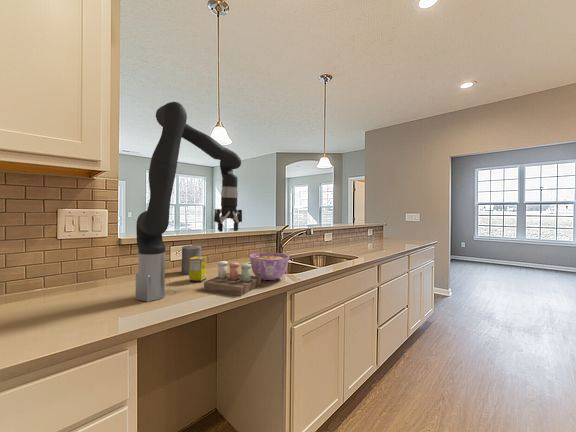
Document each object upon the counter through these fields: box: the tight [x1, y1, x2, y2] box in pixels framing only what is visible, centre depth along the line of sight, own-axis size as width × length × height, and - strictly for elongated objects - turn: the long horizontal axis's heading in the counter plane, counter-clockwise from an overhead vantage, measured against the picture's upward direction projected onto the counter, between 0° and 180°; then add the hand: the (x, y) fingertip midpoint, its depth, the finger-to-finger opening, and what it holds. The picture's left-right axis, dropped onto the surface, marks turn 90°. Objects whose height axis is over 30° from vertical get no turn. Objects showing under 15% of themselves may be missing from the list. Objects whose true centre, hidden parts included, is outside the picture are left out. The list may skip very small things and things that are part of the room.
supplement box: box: [188, 256, 207, 283], centre depth 130 cm, size 6×6×11 cm
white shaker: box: [217, 260, 229, 279], centre depth 123 cm, size 4×4×7 cm
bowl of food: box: [249, 252, 290, 281], centre depth 137 cm, size 20×20×12 cm
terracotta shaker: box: [228, 261, 240, 280], centre depth 121 cm, size 4×4×7 cm
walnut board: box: [203, 272, 262, 297], centre depth 121 cm, size 18×18×4 cm
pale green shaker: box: [240, 263, 252, 282], centre depth 119 cm, size 4×4×7 cm
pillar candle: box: [181, 244, 202, 275], centre depth 145 cm, size 10×10×15 cm
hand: (228, 231), depth 129 cm, fingers open, 8 cm apart
